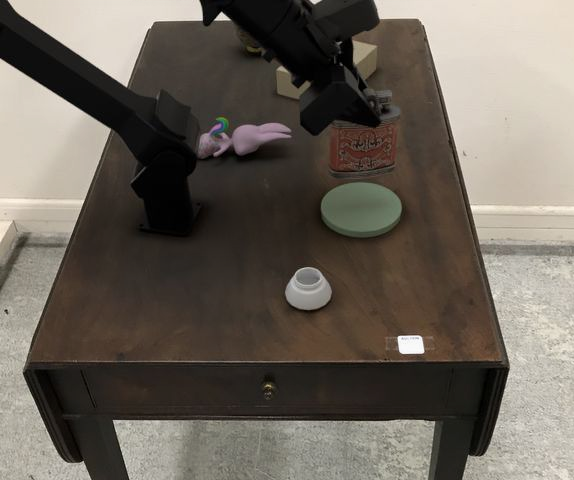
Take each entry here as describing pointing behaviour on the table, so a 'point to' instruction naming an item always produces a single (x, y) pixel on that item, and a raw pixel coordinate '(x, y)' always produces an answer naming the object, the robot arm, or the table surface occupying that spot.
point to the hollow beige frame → (361, 56)
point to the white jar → (308, 289)
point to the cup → (248, 42)
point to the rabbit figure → (239, 138)
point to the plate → (361, 209)
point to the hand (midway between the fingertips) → (376, 115)
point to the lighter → (365, 142)
